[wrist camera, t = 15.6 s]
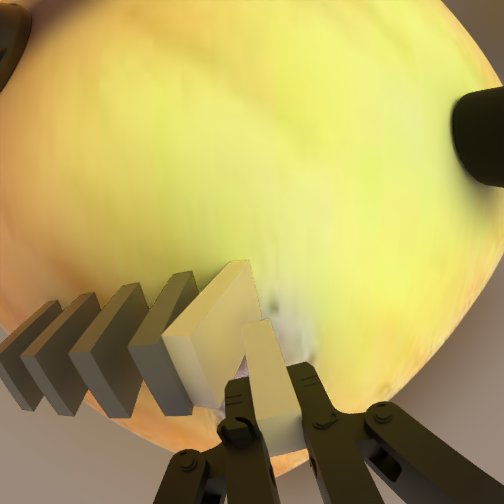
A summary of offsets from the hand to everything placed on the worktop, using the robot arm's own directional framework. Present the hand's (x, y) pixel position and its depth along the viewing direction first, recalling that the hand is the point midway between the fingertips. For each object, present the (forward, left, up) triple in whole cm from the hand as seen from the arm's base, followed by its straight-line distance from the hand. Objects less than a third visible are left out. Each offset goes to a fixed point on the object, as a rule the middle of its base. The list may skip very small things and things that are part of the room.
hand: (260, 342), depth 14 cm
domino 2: (-14, 0, -8) cm, 16 cm away
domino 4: (-5, 0, -8) cm, 9 cm away
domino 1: (-18, 0, -8) cm, 20 cm away
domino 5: (0, 0, -8) cm, 8 cm away
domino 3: (-9, 0, -8) cm, 12 cm away
